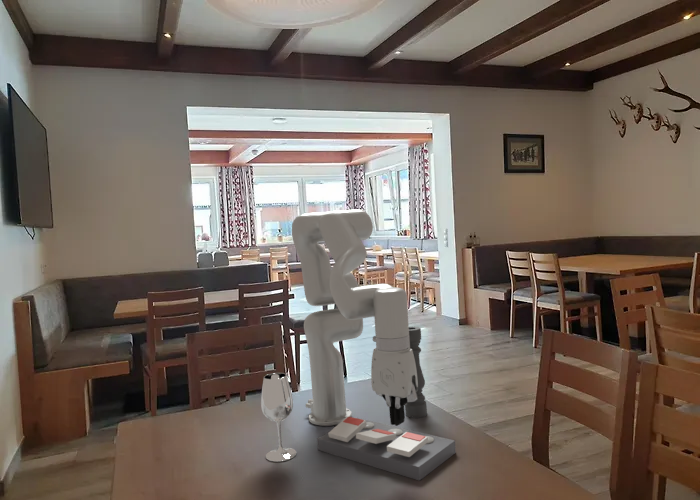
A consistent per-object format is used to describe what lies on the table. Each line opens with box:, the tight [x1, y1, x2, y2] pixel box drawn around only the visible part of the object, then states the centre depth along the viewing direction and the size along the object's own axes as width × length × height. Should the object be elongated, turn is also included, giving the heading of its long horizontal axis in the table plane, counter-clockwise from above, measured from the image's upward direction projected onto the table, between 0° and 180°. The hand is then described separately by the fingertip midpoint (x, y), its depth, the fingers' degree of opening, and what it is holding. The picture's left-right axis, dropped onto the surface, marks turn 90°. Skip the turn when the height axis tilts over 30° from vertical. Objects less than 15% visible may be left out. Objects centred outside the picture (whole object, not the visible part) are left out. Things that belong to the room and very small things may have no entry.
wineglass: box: [260, 372, 297, 463], centre depth 131 cm, size 8×8×20 cm
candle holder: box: [404, 326, 428, 419], centre depth 152 cm, size 6×6×25 cm
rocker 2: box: [356, 429, 396, 444], centre depth 127 cm, size 6×8×1 cm
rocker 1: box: [327, 416, 367, 442], centre depth 132 cm, size 6×8×1 cm
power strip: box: [316, 417, 457, 481], centre depth 131 cm, size 35×16×3 cm, turn 50°
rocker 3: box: [387, 432, 428, 457], centre depth 121 cm, size 6×8×1 cm
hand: (397, 423), depth 119 cm, fingers closed
